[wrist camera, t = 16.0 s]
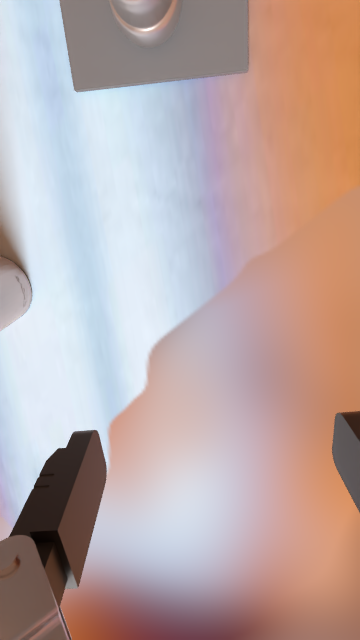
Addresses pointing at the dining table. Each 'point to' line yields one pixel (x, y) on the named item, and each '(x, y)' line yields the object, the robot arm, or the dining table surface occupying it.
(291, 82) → the dining table surface
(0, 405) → the dining table surface
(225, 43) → the grey rubber mat
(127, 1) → the plastic bottle
